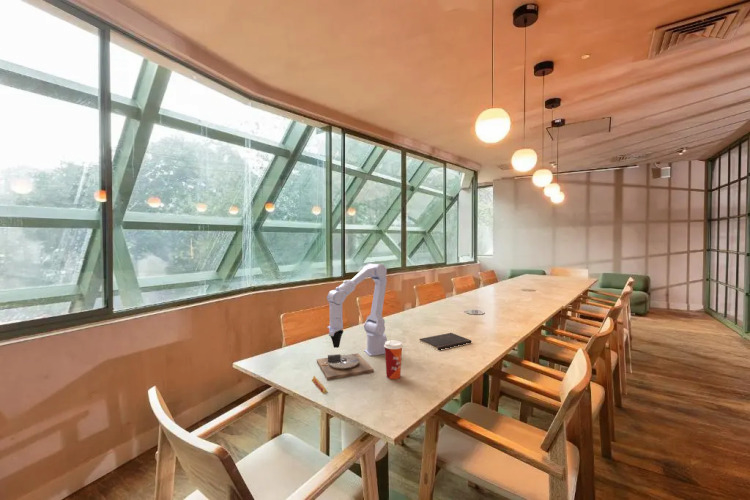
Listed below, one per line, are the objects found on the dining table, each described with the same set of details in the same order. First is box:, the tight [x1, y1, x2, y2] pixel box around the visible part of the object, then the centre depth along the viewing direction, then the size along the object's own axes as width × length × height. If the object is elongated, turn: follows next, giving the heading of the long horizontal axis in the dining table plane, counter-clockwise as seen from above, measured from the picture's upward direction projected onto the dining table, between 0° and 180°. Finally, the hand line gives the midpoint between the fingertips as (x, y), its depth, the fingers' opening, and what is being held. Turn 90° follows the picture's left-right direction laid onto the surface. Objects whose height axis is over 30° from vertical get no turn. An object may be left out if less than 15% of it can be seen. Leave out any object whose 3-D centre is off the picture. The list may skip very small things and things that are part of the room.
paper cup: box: [384, 339, 404, 380], centre depth 130 cm, size 8×8×14 cm
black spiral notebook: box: [419, 332, 472, 351], centre depth 172 cm, size 16×23×2 cm
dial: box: [327, 354, 359, 370], centre depth 140 cm, size 13×14×4 cm
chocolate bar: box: [311, 375, 328, 394], centre depth 122 cm, size 3×12×2 cm, turn 30°
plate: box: [316, 353, 374, 381], centre depth 140 cm, size 20×20×1 cm
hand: (336, 347), depth 143 cm, fingers closed
